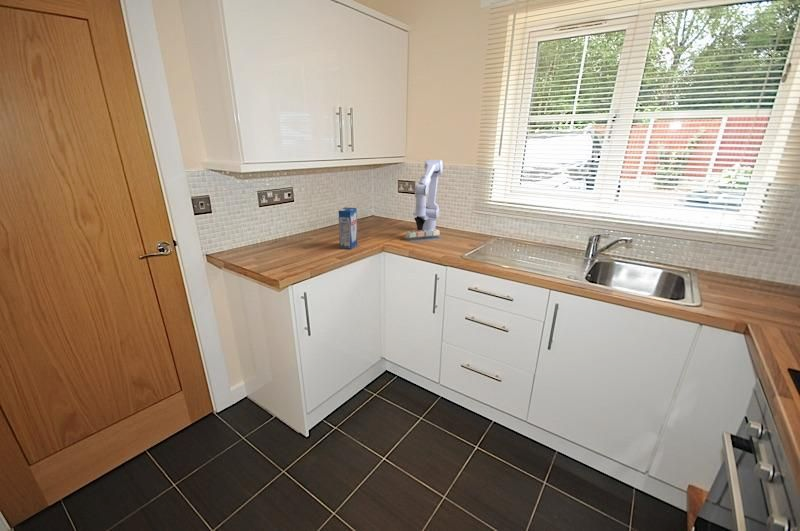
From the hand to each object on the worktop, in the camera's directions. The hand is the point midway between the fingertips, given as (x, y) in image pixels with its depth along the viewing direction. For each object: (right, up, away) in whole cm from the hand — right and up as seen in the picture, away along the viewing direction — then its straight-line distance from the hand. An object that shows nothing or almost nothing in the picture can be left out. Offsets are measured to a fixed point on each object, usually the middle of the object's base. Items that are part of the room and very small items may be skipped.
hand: (419, 230), depth 195 cm
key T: (0, -3, +1) cm, 3 cm away
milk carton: (-39, -10, -12) cm, 42 cm away
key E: (-5, -4, -1) cm, 6 cm away
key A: (+9, -2, +5) cm, 11 cm away
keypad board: (+2, -6, +3) cm, 7 cm away
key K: (+5, -3, +3) cm, 6 cm away
